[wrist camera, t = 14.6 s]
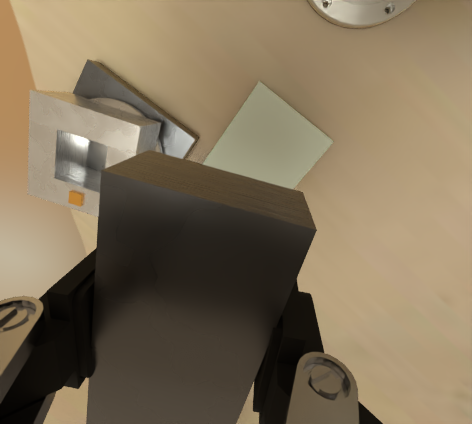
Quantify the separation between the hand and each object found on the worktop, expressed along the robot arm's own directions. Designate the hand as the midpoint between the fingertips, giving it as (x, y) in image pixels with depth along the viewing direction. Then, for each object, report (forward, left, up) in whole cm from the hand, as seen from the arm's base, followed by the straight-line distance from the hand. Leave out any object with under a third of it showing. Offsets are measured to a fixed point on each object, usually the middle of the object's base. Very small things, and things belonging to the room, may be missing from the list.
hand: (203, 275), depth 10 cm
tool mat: (-1, +1, -23) cm, 23 cm away
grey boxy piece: (+8, -12, -21) cm, 25 cm away
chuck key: (0, 0, -6) cm, 6 cm away
